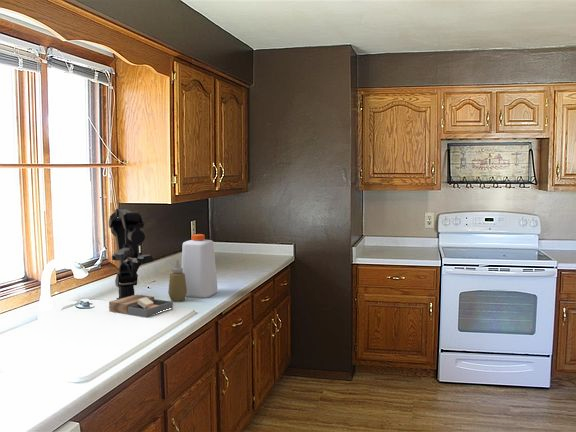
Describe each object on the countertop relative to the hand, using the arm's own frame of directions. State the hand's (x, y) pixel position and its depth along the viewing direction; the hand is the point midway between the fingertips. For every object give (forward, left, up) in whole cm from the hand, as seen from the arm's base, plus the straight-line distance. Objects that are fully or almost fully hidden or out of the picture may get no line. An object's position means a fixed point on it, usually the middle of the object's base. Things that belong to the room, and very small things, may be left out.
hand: (133, 277), depth 252 cm
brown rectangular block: (+4, -5, -12) cm, 14 cm away
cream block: (+11, -5, -10) cm, 16 cm away
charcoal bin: (+14, -5, -12) cm, 19 cm away
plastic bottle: (+12, +30, -12) cm, 35 cm away
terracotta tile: (+16, -5, -10) cm, 19 cm away
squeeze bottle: (+11, +16, -12) cm, 23 cm away
